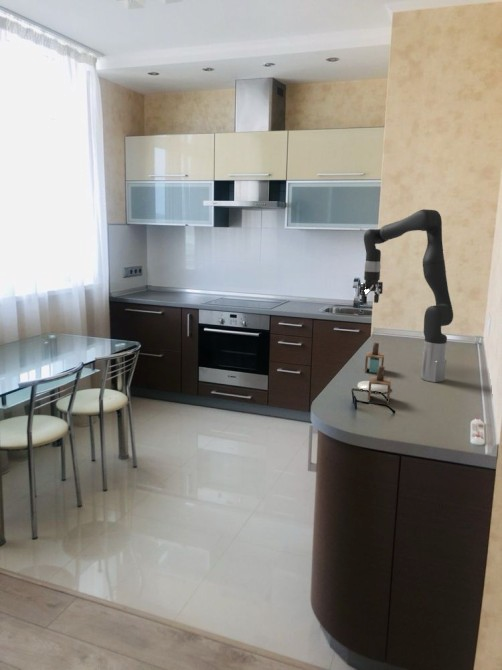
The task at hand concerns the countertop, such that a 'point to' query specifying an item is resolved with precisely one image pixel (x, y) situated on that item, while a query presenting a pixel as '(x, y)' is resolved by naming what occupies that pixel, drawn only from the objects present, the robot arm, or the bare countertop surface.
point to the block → (374, 364)
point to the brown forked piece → (374, 355)
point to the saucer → (372, 386)
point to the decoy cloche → (380, 381)
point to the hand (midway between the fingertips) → (370, 303)
